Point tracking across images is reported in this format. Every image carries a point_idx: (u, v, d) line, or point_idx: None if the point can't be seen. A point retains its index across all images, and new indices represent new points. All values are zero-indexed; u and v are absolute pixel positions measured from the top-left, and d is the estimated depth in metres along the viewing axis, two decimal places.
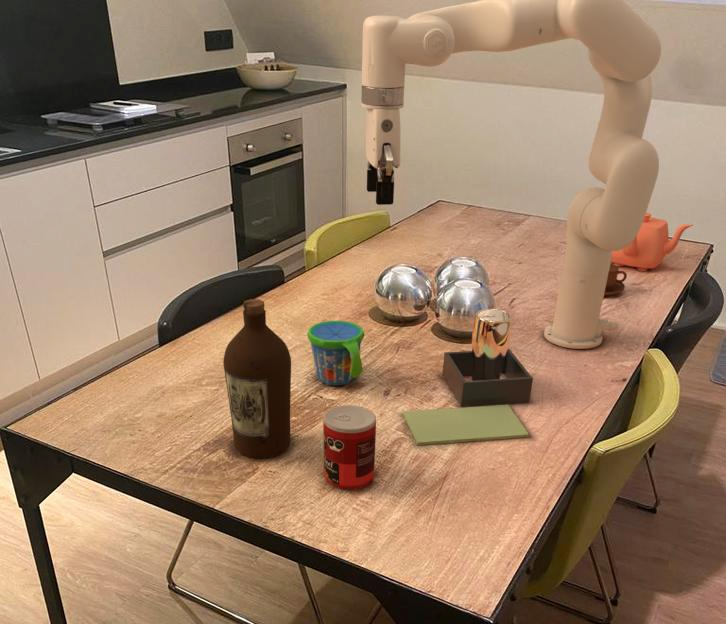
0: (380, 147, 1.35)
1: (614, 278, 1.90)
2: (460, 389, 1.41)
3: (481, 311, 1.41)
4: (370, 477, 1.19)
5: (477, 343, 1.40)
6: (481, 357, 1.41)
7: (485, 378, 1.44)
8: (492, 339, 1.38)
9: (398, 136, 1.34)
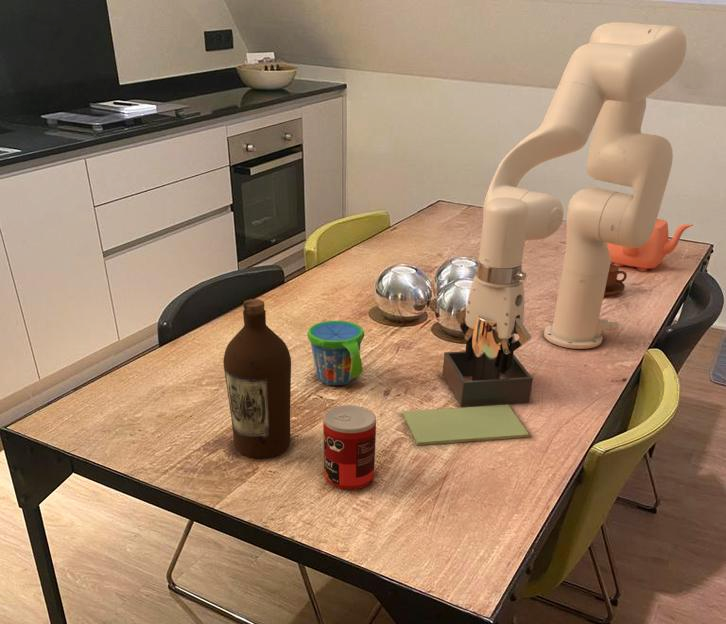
0: (513, 321, 1.36)
1: (614, 278, 1.90)
2: (460, 389, 1.41)
3: None
4: (370, 477, 1.19)
5: (477, 343, 1.40)
6: (481, 357, 1.41)
7: (485, 378, 1.44)
8: (492, 339, 1.38)
9: (523, 306, 1.37)
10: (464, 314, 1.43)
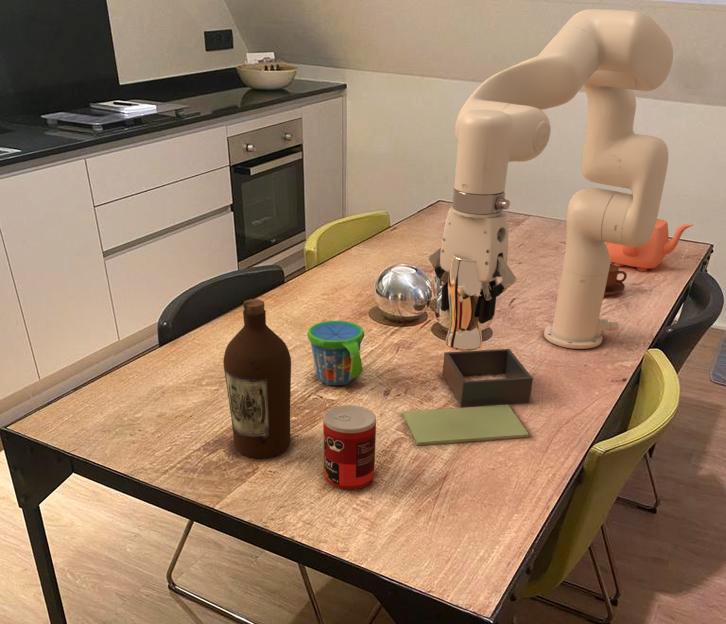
0: (495, 259, 1.15)
1: (614, 278, 1.90)
2: (460, 389, 1.41)
3: None
4: (370, 477, 1.19)
5: (453, 288, 1.20)
6: (458, 305, 1.21)
7: (463, 330, 1.23)
8: (471, 282, 1.18)
9: (507, 243, 1.16)
10: (439, 255, 1.22)
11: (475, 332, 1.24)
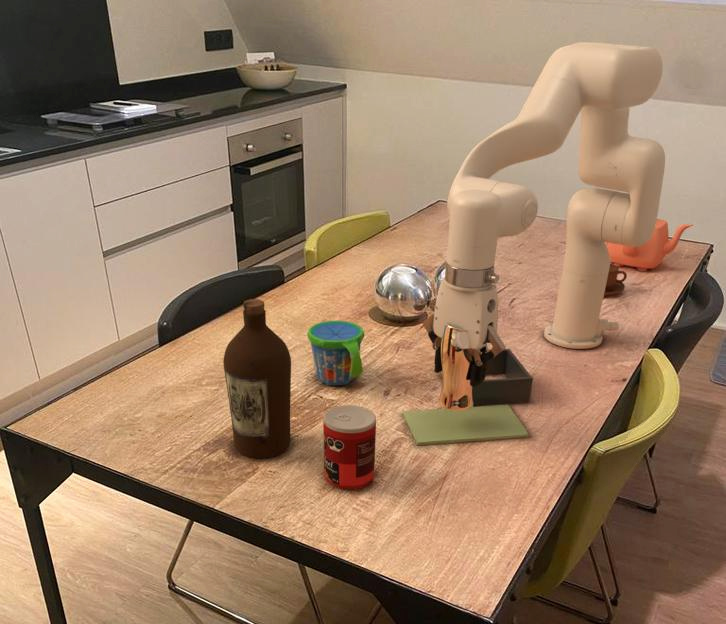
0: (486, 329, 1.21)
1: (614, 278, 1.90)
2: None
3: None
4: (370, 477, 1.19)
5: (446, 353, 1.25)
6: (451, 369, 1.26)
7: (456, 392, 1.29)
8: (462, 349, 1.23)
9: (497, 312, 1.22)
10: (432, 321, 1.28)
11: (467, 394, 1.29)
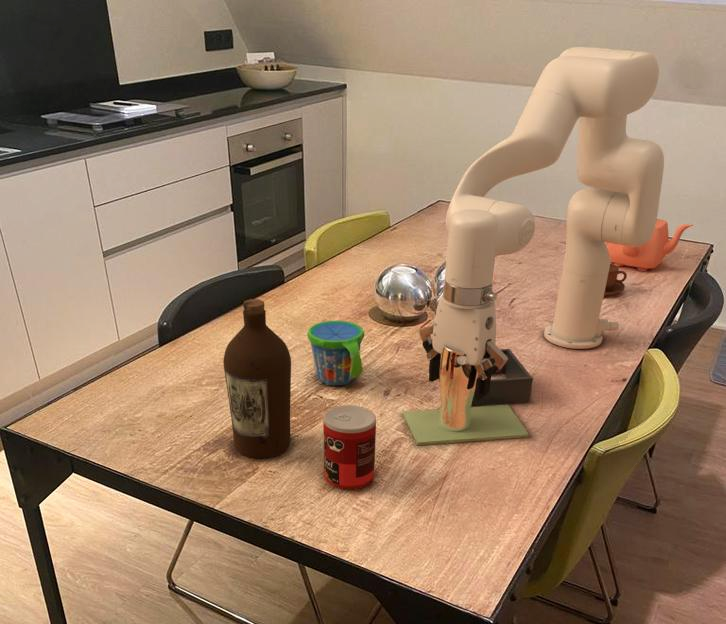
0: (484, 345, 1.22)
1: (614, 278, 1.90)
2: None
3: None
4: (370, 477, 1.19)
5: (444, 375, 1.27)
6: (449, 391, 1.29)
7: (454, 413, 1.31)
8: (460, 371, 1.26)
9: (495, 329, 1.23)
10: (429, 332, 1.29)
11: (465, 414, 1.31)
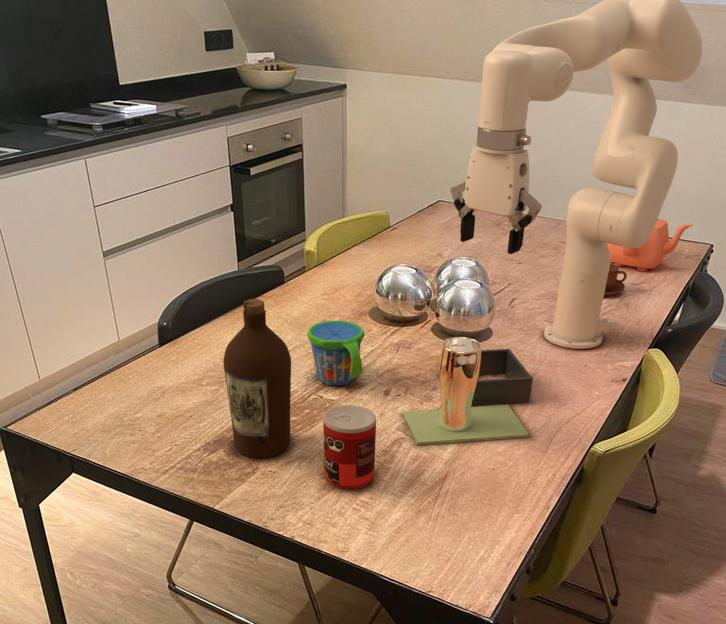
0: (518, 193, 1.23)
1: (614, 278, 1.90)
2: None
3: (449, 340, 1.29)
4: (370, 477, 1.19)
5: (444, 375, 1.27)
6: (449, 391, 1.29)
7: (454, 413, 1.31)
8: (460, 371, 1.26)
9: (528, 178, 1.24)
10: (461, 189, 1.30)
11: (465, 414, 1.31)
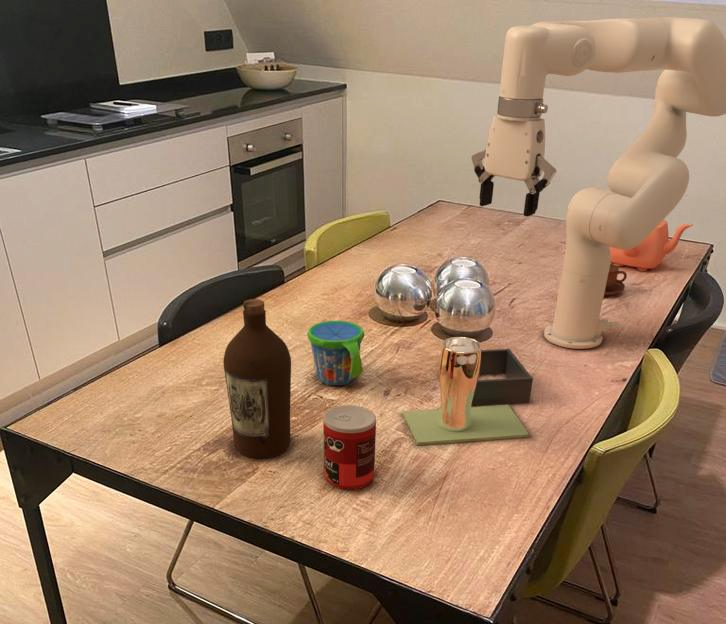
0: (534, 159, 1.33)
1: (614, 278, 1.90)
2: None
3: (449, 340, 1.29)
4: (370, 477, 1.19)
5: (444, 375, 1.27)
6: (449, 391, 1.29)
7: (454, 413, 1.31)
8: (460, 371, 1.26)
9: (544, 145, 1.34)
10: (481, 156, 1.41)
11: (465, 414, 1.31)
